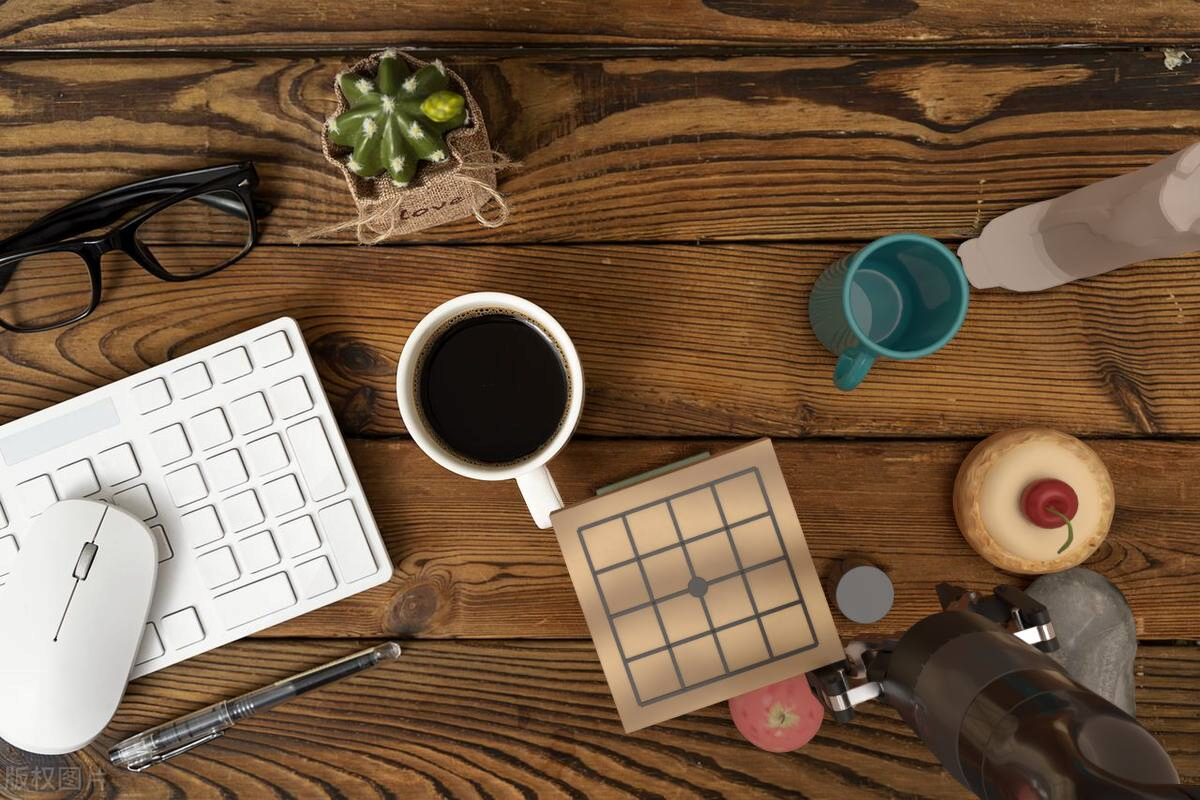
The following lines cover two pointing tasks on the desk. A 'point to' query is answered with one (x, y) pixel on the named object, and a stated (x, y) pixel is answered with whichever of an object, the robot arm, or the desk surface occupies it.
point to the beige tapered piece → (1092, 229)
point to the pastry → (1033, 500)
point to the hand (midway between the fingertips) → (885, 616)
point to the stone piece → (860, 590)
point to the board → (696, 583)
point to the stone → (1091, 631)
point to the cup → (888, 304)
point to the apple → (778, 715)
